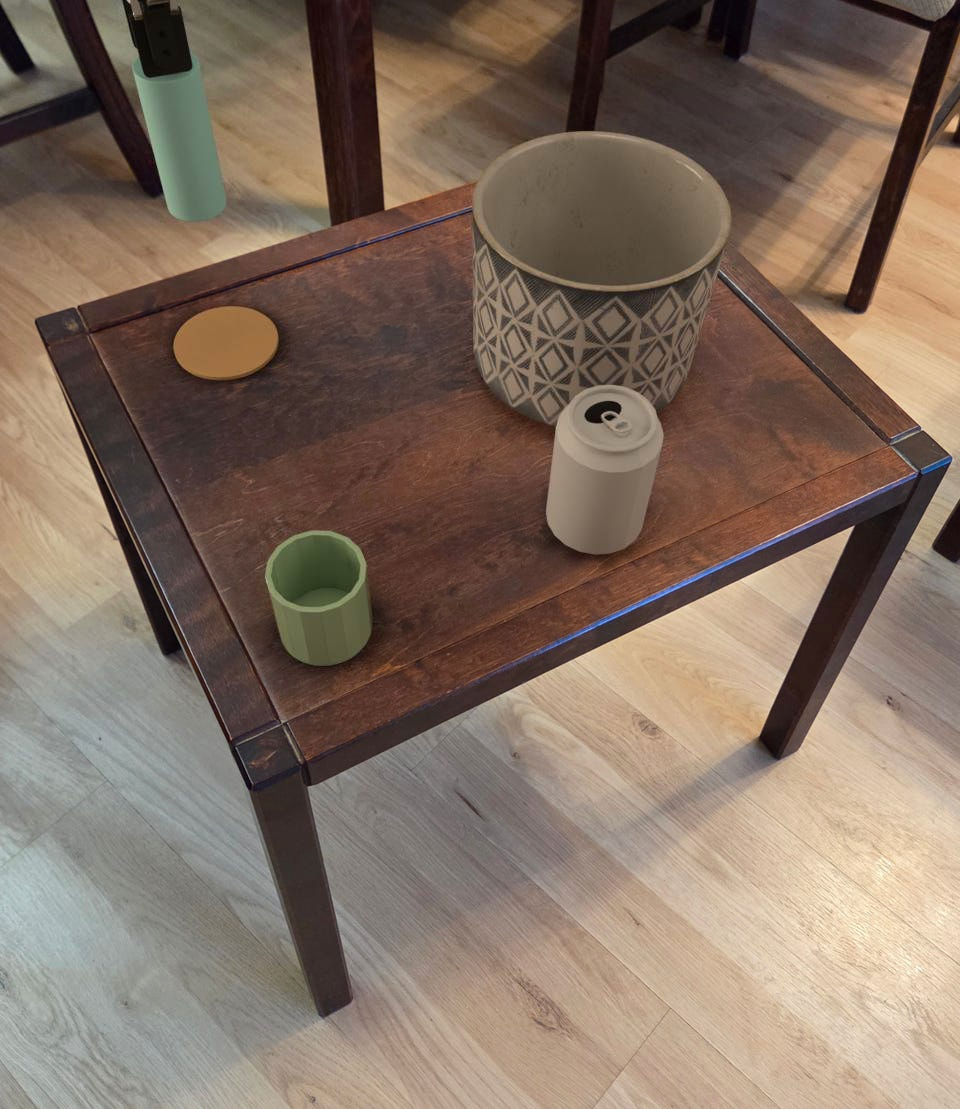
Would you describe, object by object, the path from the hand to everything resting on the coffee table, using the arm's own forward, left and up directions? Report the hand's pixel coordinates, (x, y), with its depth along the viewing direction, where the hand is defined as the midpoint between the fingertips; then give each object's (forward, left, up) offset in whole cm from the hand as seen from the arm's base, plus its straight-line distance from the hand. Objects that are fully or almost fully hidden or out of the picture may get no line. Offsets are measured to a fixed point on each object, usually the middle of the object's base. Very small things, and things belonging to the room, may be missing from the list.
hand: (162, 55), depth 70 cm
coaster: (0, +1, -26) cm, 27 cm away
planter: (+28, -12, -27) cm, 41 cm away
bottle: (0, 0, -12) cm, 12 cm away
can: (+22, -28, -27) cm, 45 cm away
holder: (0, -30, -26) cm, 40 cm away
